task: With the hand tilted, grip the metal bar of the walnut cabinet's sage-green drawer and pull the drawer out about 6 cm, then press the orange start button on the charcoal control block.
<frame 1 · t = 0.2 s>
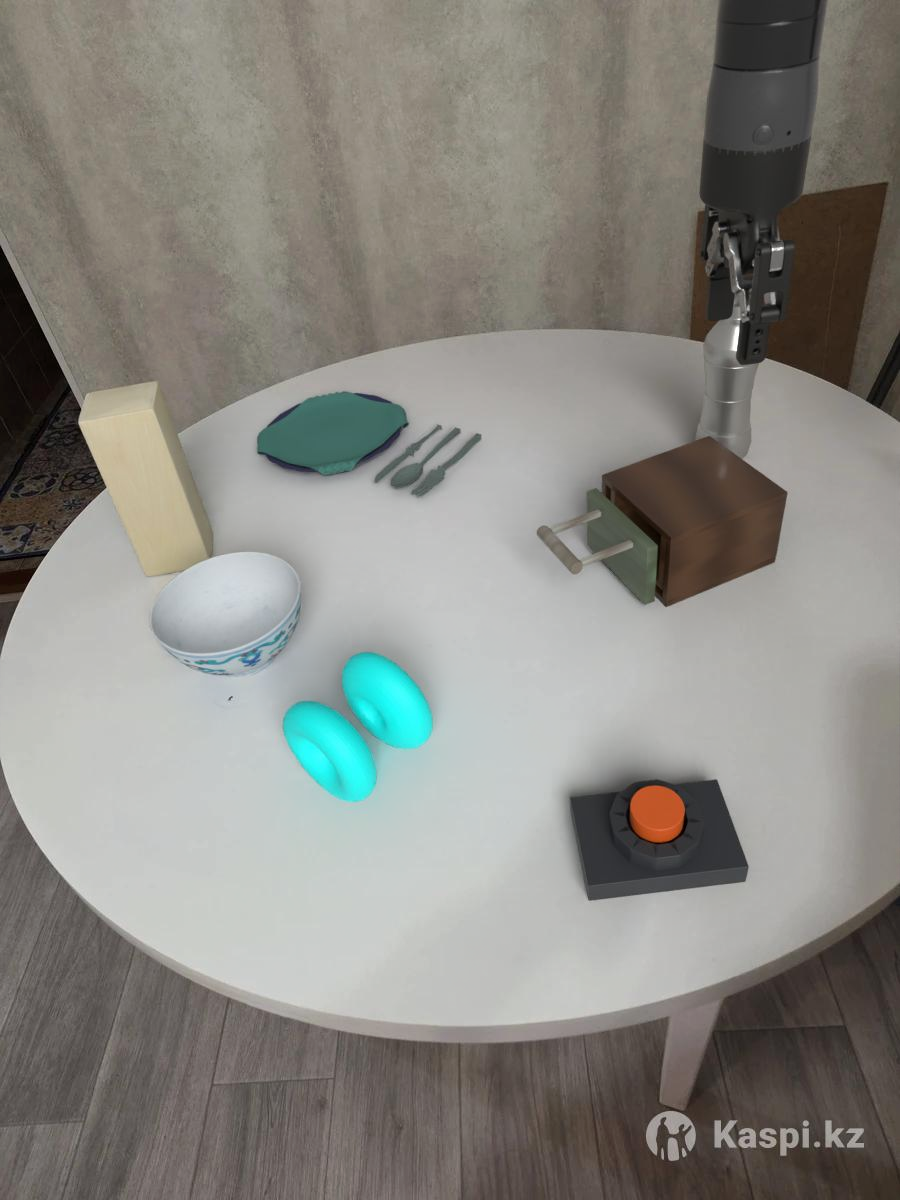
hand: (733, 339, 74), 27 cm above the table, tool pointing down, fingers open, 8 cm apart
drawer: (637, 538, 90), point 5 cm above the table, slide at 1.0 cm
start button: (656, 813, 66), point 4 cm above the table, slide at 0.1 cm
cutlery set: (362, 450, 118), on the table
control block: (654, 845, 69), on the table
cabinet: (685, 551, 94), on the table
chinaware: (246, 655, 91), on the table
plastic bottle: (720, 457, 107), on the table
tall cream wooden block: (182, 554, 105), on the table
donuts: (369, 762, 78), on the table
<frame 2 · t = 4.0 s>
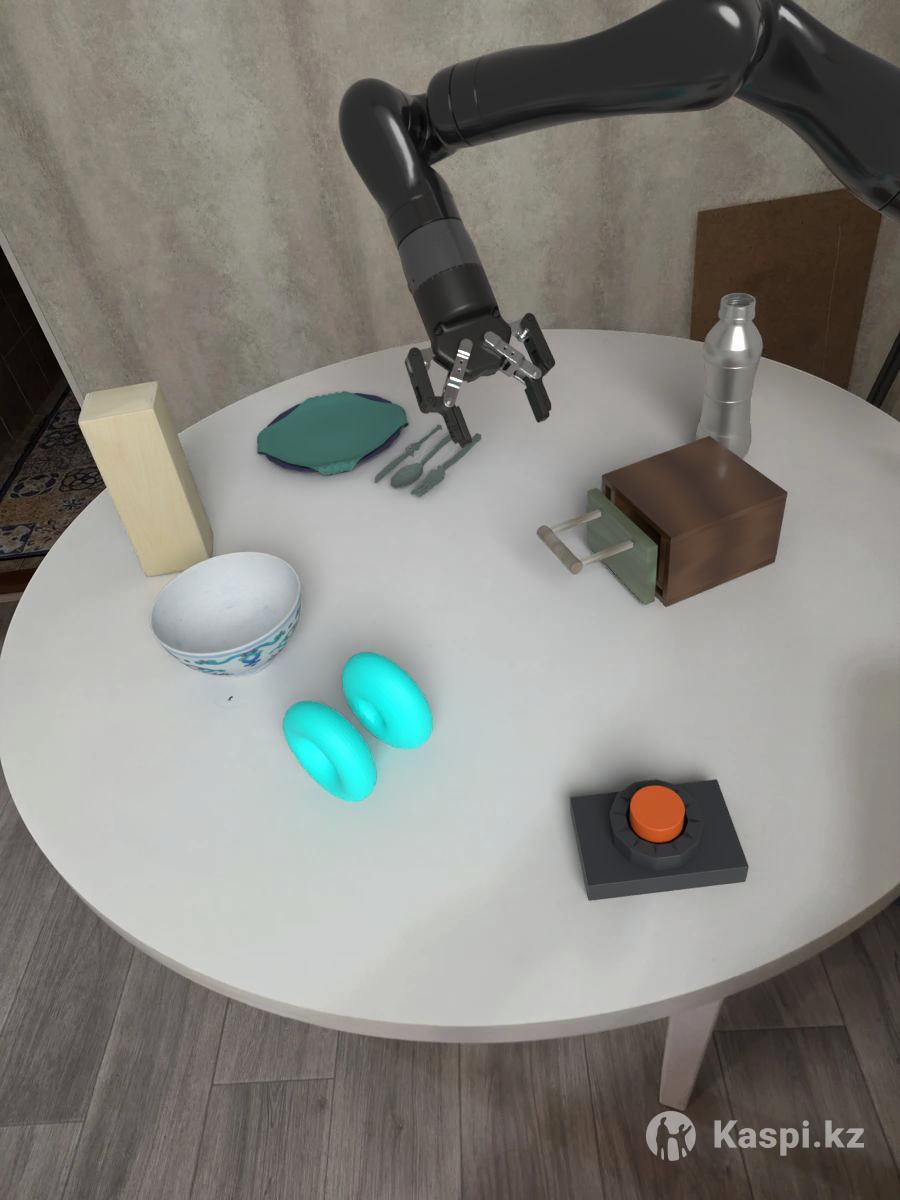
hand: (506, 432, 86), 17 cm above the table, tool tilted 45°, fingers open, 8 cm apart
nothing on the table moved.
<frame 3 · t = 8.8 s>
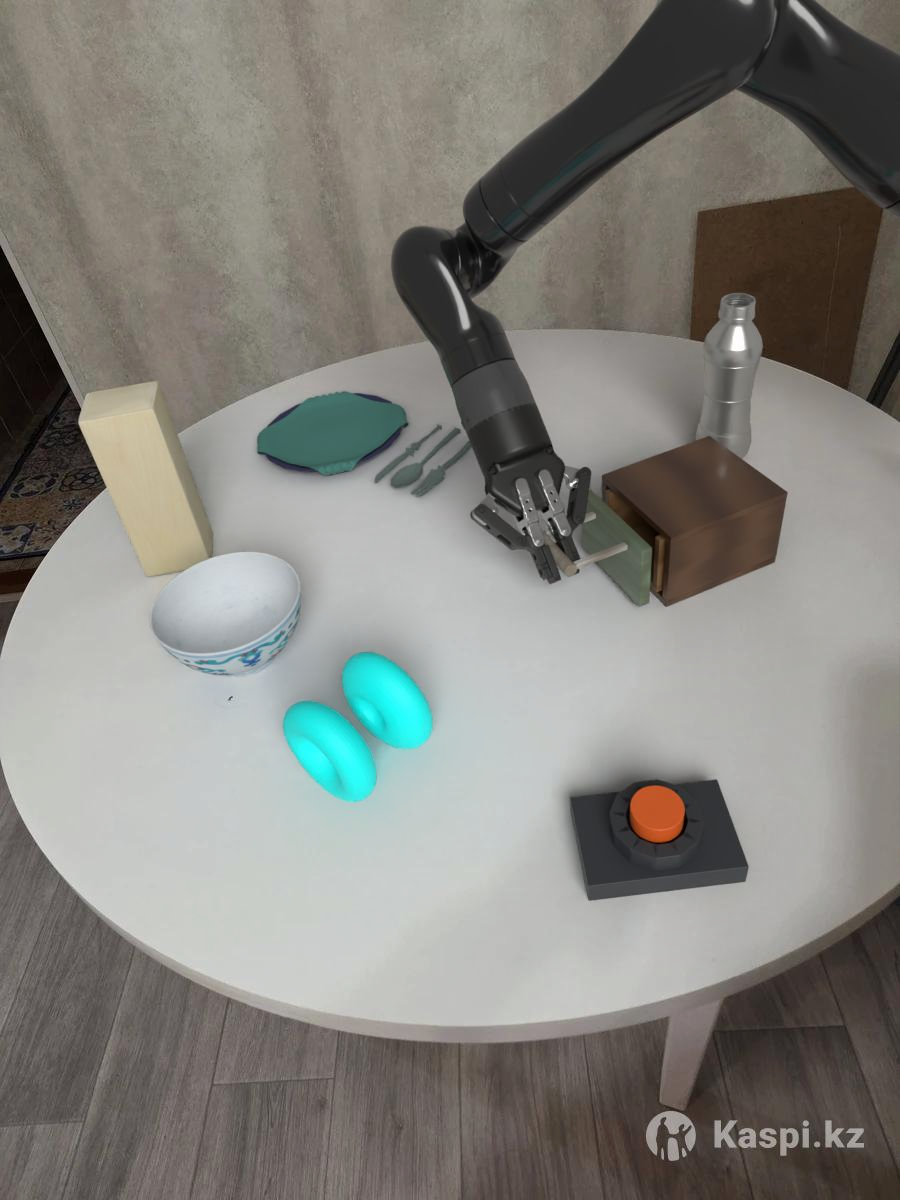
hand: (564, 577, 86), 5 cm above the table, tool tilted 45°, fingers closed
drawer: (631, 540, 90), point 5 cm above the table, slide at 1.6 cm, touching gripper
everything else where it was.
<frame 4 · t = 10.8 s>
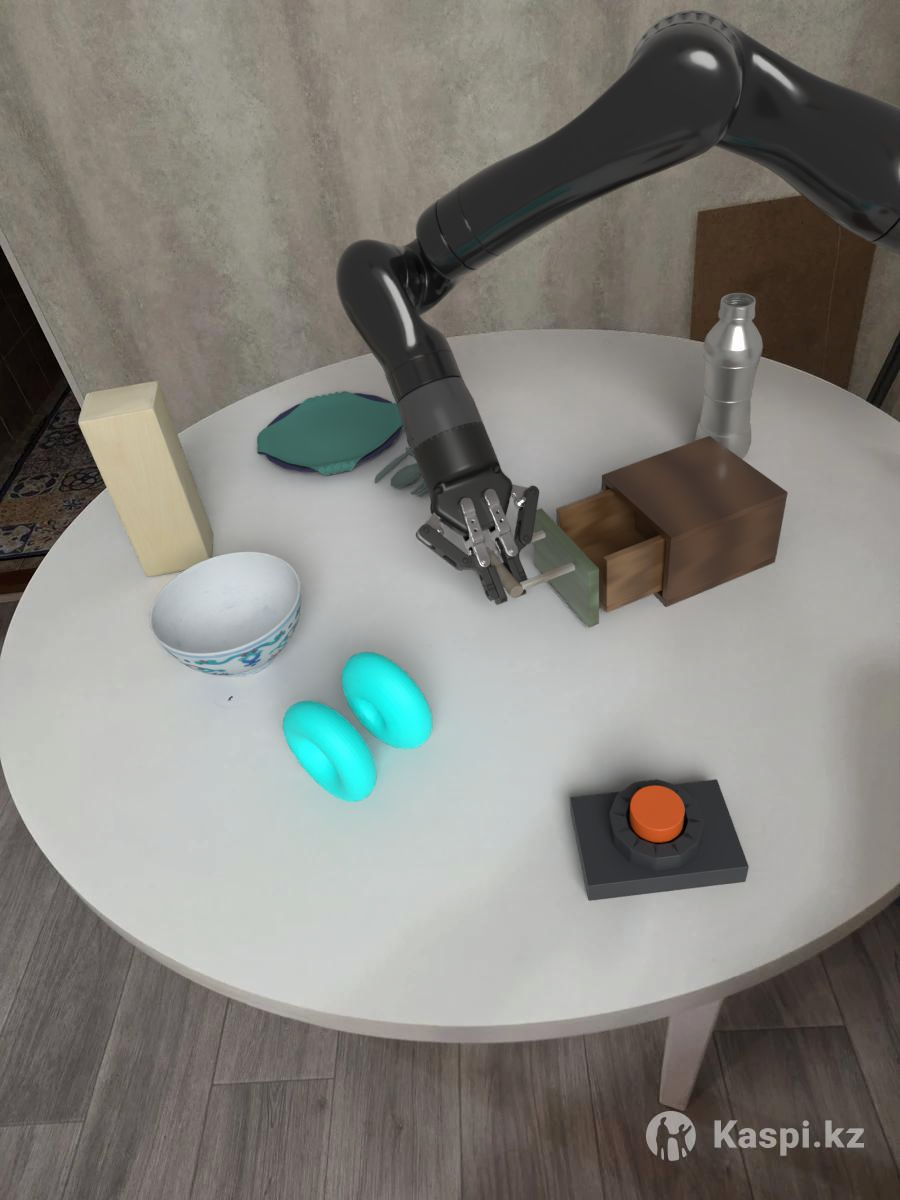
hand: (511, 598, 84), 5 cm above the table, tool tilted 45°, fingers closed
drawer: (582, 559, 88), point 5 cm above the table, slide at 7.5 cm, touching gripper
everything else where it was.
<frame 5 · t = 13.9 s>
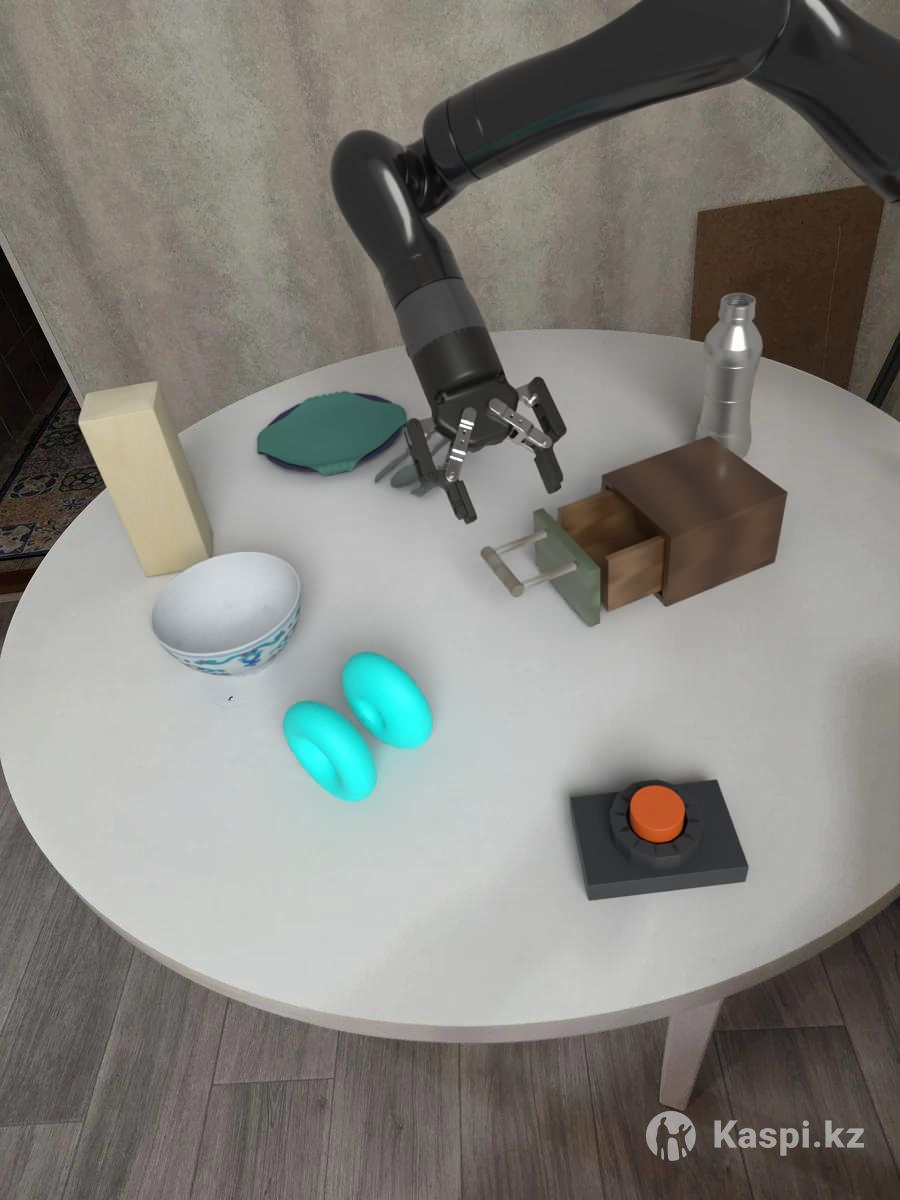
hand: (514, 506, 79), 15 cm above the table, tool tilted 45°, fingers open, 8 cm apart
drawer: (583, 559, 88), point 5 cm above the table, slide at 7.4 cm
everything else where it was.
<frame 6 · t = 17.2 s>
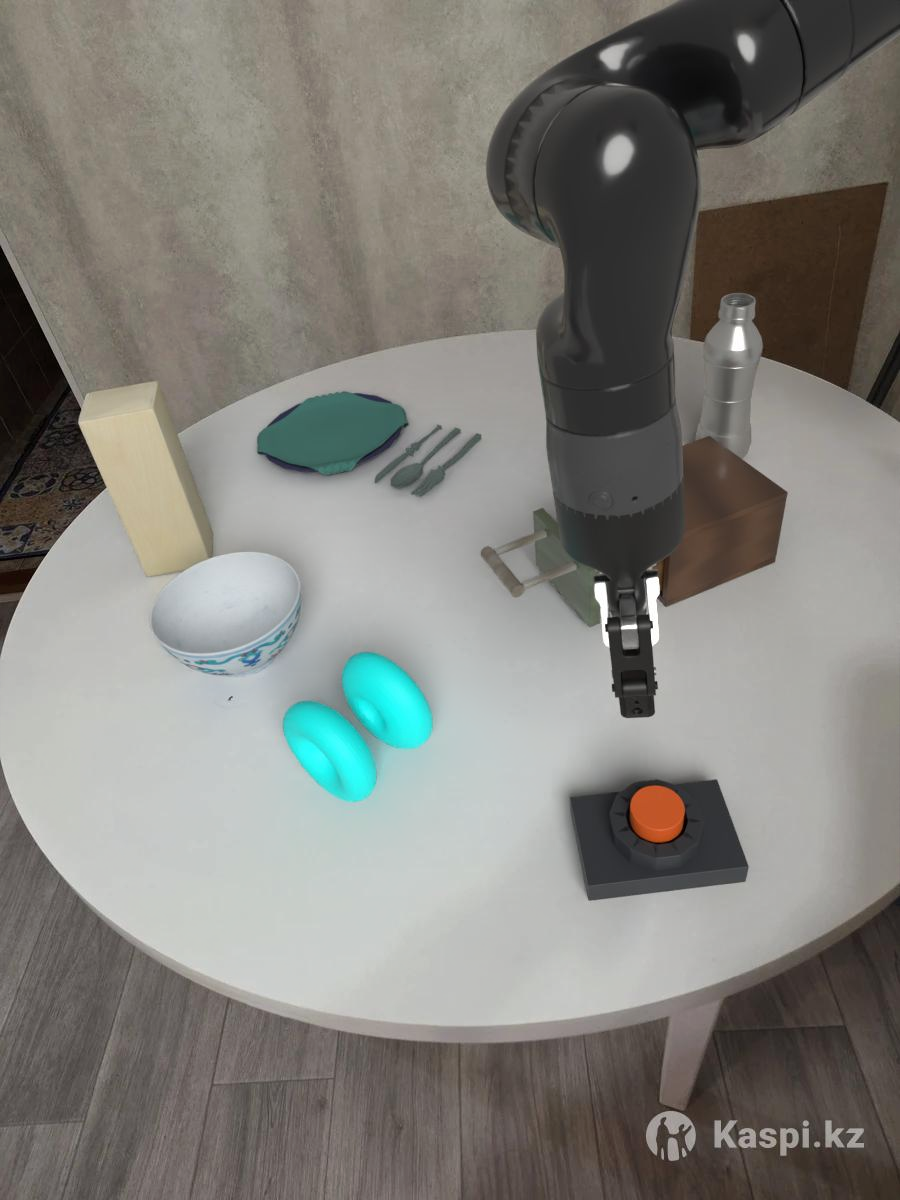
hand: (634, 667, 60), 17 cm above the table, tool pointing down, fingers open, 8 cm apart
nothing on the table moved.
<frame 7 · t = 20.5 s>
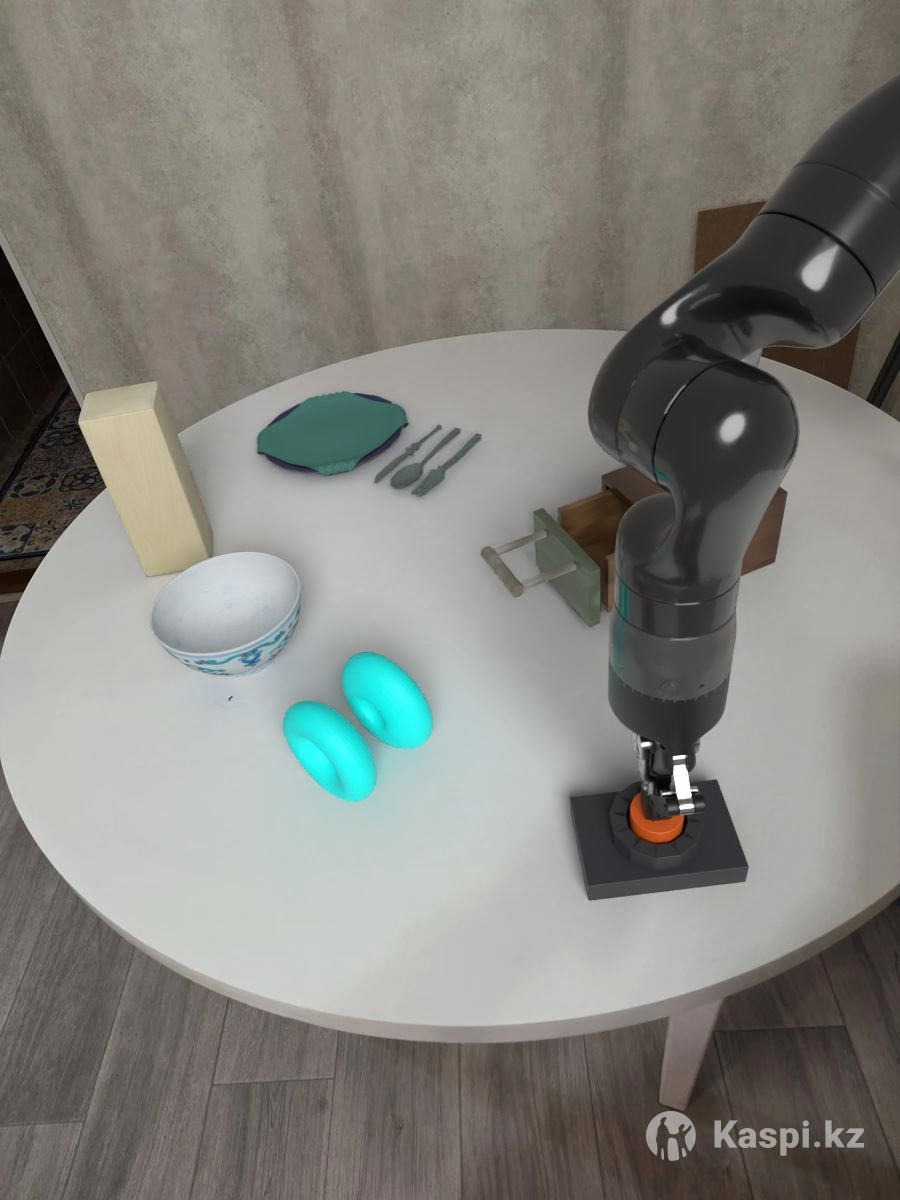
hand: (656, 810, 65), 5 cm above the table, tool pointing down, fingers closed
start button: (656, 816, 66), point 4 cm above the table, slide at -0.3 cm, touching gripper
everything else where it was.
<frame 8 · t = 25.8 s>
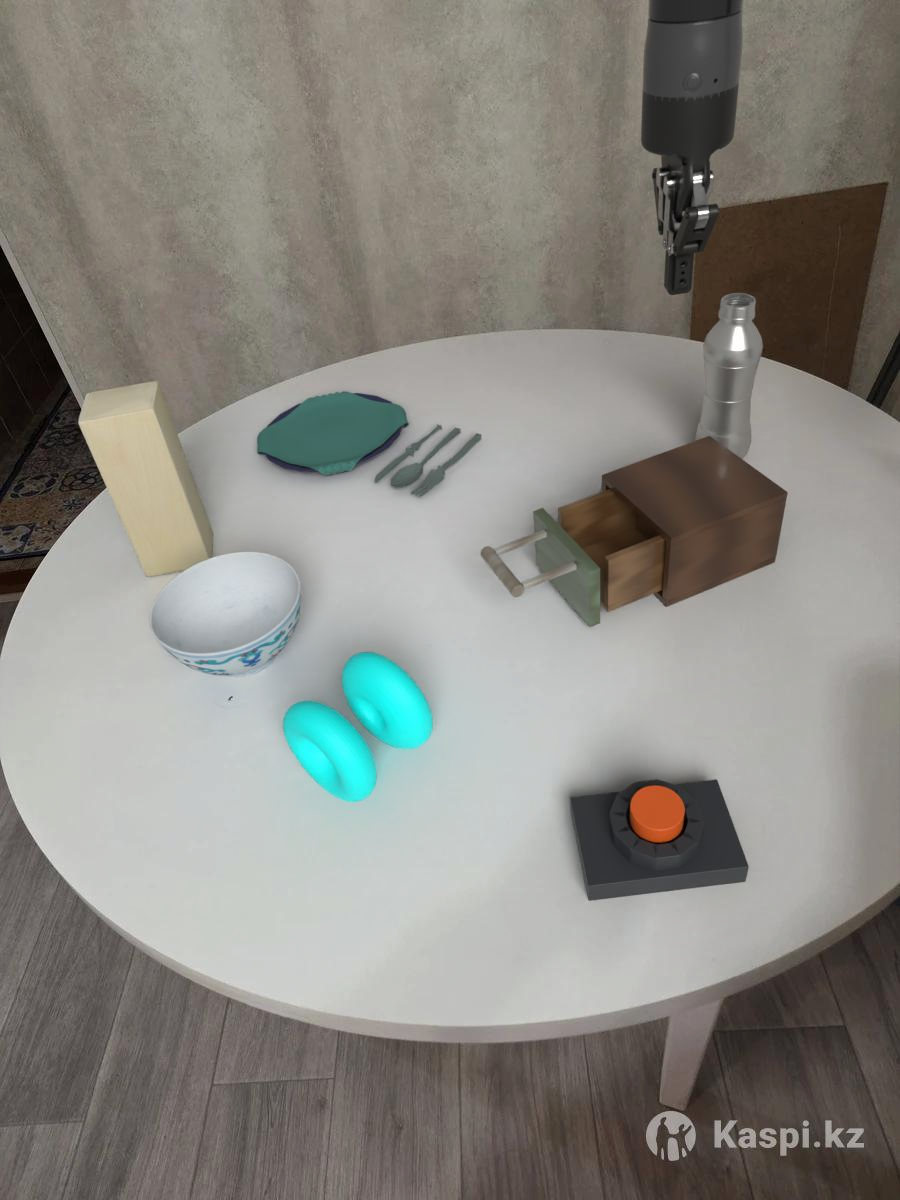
hand: (677, 290, 81), 27 cm above the table, tool pointing down, fingers closed
start button: (656, 813, 66), point 4 cm above the table, slide at 0.1 cm
everything else where it was.
at the end: drawer slide at 7.4 cm; start button pushed in 1.0 cm at the most during the clip, back to where it started at the end; start button slide at 0.1 cm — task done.
